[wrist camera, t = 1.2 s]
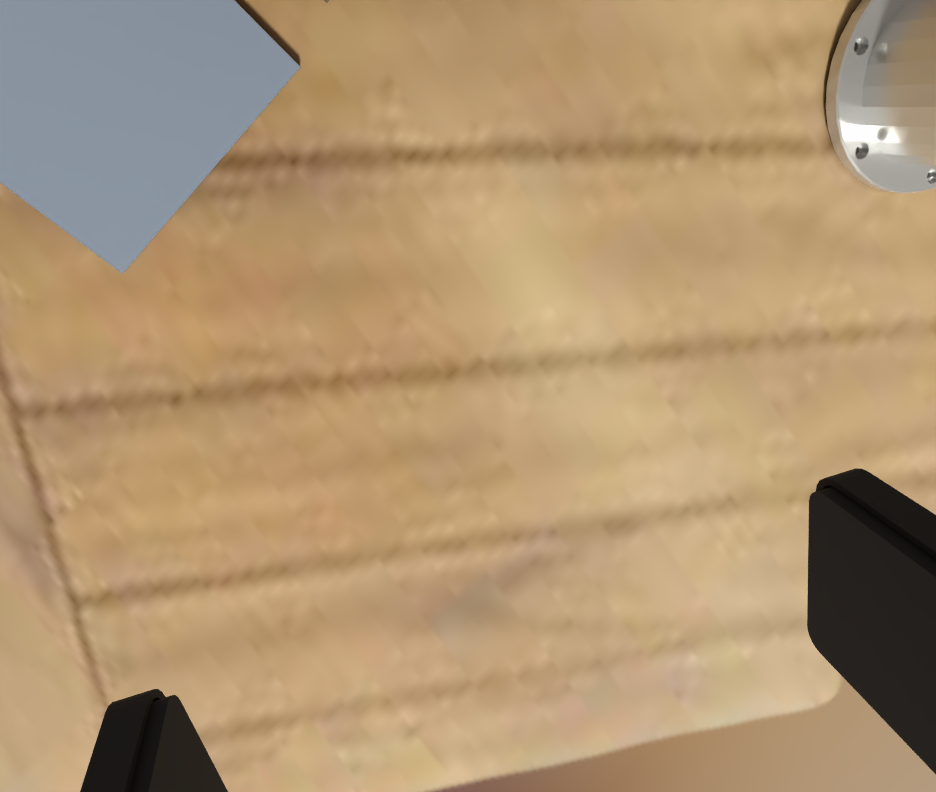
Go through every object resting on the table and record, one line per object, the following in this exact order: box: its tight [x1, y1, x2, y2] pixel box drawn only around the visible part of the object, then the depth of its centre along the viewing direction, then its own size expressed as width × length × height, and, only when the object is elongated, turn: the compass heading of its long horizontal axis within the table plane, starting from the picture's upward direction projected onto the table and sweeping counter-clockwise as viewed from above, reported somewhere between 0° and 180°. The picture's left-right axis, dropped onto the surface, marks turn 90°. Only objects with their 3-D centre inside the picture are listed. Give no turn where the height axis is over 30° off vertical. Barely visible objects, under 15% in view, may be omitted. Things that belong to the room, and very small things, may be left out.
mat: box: [0, 0, 300, 273], centre depth 30 cm, size 13×13×1 cm
